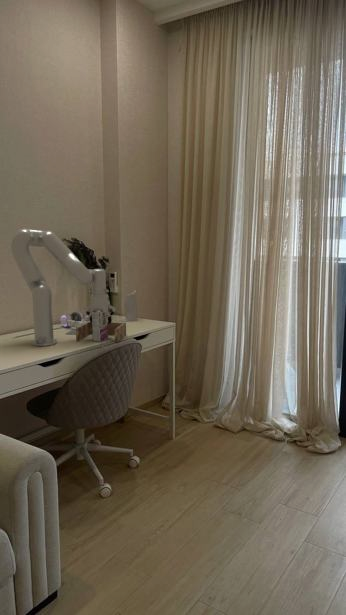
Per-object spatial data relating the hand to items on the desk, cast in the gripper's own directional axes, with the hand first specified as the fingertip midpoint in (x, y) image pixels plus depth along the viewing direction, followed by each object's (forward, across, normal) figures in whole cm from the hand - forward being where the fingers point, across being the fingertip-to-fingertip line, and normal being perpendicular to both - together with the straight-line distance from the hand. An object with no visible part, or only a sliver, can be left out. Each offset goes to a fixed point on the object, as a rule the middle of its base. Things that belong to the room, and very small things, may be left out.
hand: (100, 323), depth 245 cm
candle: (+10, +1, -55) cm, 56 cm away
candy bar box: (+9, +1, 0) cm, 9 cm away
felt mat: (+8, +21, -15) cm, 27 cm away
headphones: (+9, +24, -32) cm, 41 cm away
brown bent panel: (+9, +1, -3) cm, 9 cm away
